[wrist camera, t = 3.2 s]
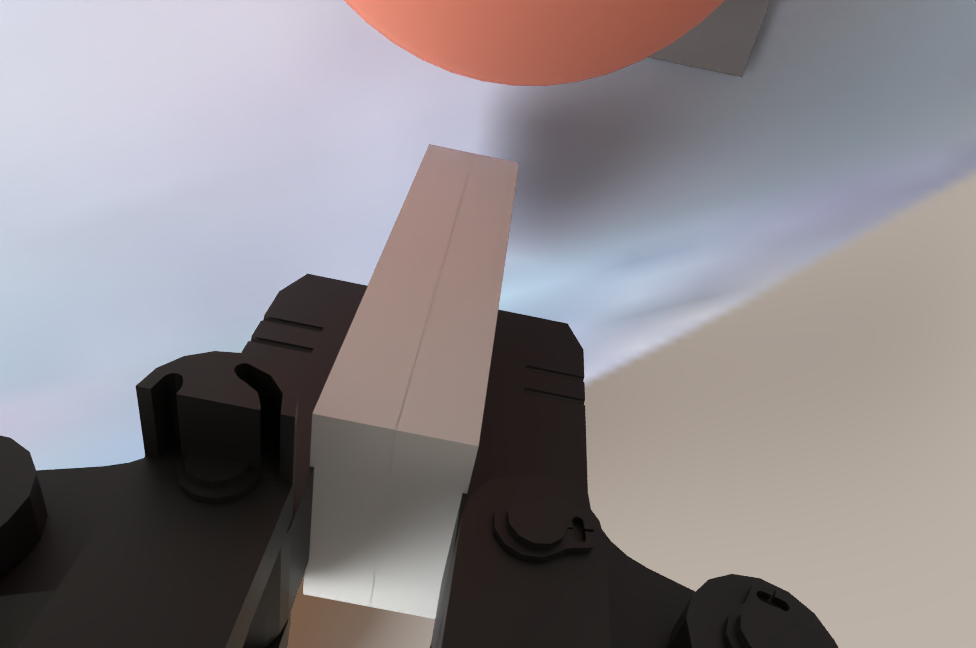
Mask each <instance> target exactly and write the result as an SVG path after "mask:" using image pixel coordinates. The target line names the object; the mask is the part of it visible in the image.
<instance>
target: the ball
mask: <svg viewBox="0 0 976 648" xmlns="http://www.w3.org/2000/svg"><path fill="white" fill-rule="evenodd" d="M344 1H345V2H346V3H347V4H348V5H349V6H350V7H351V8H352V9H353V10H354V11H355V12H356V13H358V14H359V15H360V16H361V17H362V18H363V19H364V20H365V21H366V22H367V23H368V24H369V25H371V26H372V27H373V28H375V29H376V30H377V31H379V32H380V33H381V34H383V35H384V36H385V37H386V38H388V39H389V40H390V41H392V42H393V43H394V44H396V45H398V46H400V47H401V48H403V49H405V50H406V51H408V52H410V53H411V54H413V55H415V56H417V57H418V58H420V59H422V60H424V61H426V62H429V63H431V64H433V65H436V66H438V67H440V68H443V69H445V70H447V71H450V72H452V73H456V74H459V75H463V76H466V77H470V78H473V79H477V80H481V81H486V82H493V83H500V84H507V85H520V86H547V85H555V84H563V83H571V82H578V81H582V80H586V79H590V78H593V77H597V76H601V75H605V74H609V73H611V72H614V71H616V70H619V69H621V68H624V67H626V66H629V65H631V64H634V63H636V62H639V61H641V60H643V59H645V58H646V57H648V56H650V55H652V54H654V53H655V52H657V51H659V50H661V49H663V48H664V47H666V46H668V45H670V44H672V43H673V42H674V41H676V40H677V39H679V38H680V37H681V36H683V35H684V34H685V33H687V32H688V31H690V30H691V29H692V28H694V27H695V26H697V25H698V24H699V23H701V22H702V21H703V20H704V19H705V18H706V17H707V16H708V15H710V14H711V13H712V12H713V11H714V10H715V9H716V8H717V7H718V6H719V5H721V4H722V3H723V2H724V1H725V0H344Z"/></svg>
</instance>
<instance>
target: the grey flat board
mask: <svg viewBox="0 0 976 648" xmlns="http://www.w3.org/2000/svg"><path fill="white" fill-rule="evenodd" d="M770 1H771V0H725V1H724V2H723V3H722V4H721V5H719V6H718V7H717V8H716V9H715V10H714V11H713V12H712V13H711V14H710V15H708V16H707V17H706V18H705V19H704V20H703V21H702V22H701V23H699V24H698V25H697V26H695V27H694V28H692V29H691V30H690V31H688V32H687V33H685V34H684V35H683V36H681V37H680V38H679V39H677V40H676V41H674V42H673V43H672V44H670V45H668V46H666V47H664V48H663V49H661V50H659V51H657V52H655V53H654V54H652V55H650V56H648V57H649V58H654V59H658V60H663V61H668V62H673V63H677V64H682V65H687V66H691V67H696V68H701V69H706V70H710V71H715V72H720V73H724V74H729V75H734V76H739V77H742V75H743V73H744V70H745V67H746V65H747V62H748V60H749V57H750V54H751V52H752V49H753V46H754V44H755V41H756V38H757V36H758V33H759V30H760V28H761V25H762V22H763V20H764V17H765V14H766V12H767V9H768V6H769V4H770Z"/></svg>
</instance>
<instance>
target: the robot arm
mask: <svg viewBox="0 0 976 648" xmlns="http://www.w3.org/2000/svg"><path fill="white" fill-rule="evenodd" d="M518 168H519V163H517V162H512V161H507V160H502V159H498V158H493V157H488V156H483V155H478V154H474V153H469V152H464V151H459V150H454V149H449V148H445V147H440V146H435V145H430V144H429V146H428V149H427V151H426V153H425V156H424V158H423V160H422V162H421V165H420V167H419V169H418V172H417V174H416V176H415V179H414V181H413V183H412V185H411V188H410V190H409V192H408V195H407V197H406V199H405V202H404V204H403V206H402V208H401V211H400V213H399V215H398V218H397V220H396V222H395V225H394V227H393V229H392V231H391V234H390V236H389V238H388V241H387V243H386V245H385V248H384V250H383V252H382V255H381V257H380V259H379V261H378V264H377V266H376V268H375V271H374V273H373V275H372V278H371V280H370V282H369V284H368V286H365V285H360V284H355V283H351V282H346V281H341V280H336V279H331V278H326V277H321V276H316V275H311V274H307V275H305V276H303V277H302V278H300V279H299V280H297V281H295V282H294V283H292V284H291V285H289V286H287V287H286V288H284V289H282V290H281V291H279V293H278V294H277V296H276V298H275V299H274V301H273V303H272V304H271V306H270V307H269V309H268V311H267V312H266V314H265V315H264V320H263V321H261V322H260V324H259V325H258V327H257V328H256V330H255V332H254V333H253V335H252V338H251V342H250V341H248V343H247V345H246V346H245V348H244V349H243V351H242V353H233V352H219V351H213V352H207V353H201V354H195V355H189V356H183V357H181V358H179V359H176V360H174V361H172V362H170V363H167V364H165V365H163V366H160V367H158V368H156V369H155V370H154V371H153V372H151V373H150V374H149V375H148V376H147V377H146V378H144V379H143V380H142V381H141V382H140V383H139V384H138V385H136V391H137V398H138V406H139V413H140V420H141V427H142V435H143V442H144V449H145V457H144V458H143V459H140V460H137V461H133V462H130V463H124V464H117V465H110V466H103V467H87V468H71V469H55V470H39V471H36V469H35V466H34V464H33V461H32V458H31V455H30V452H29V451H28V450H26V449H25V448H23V447H22V446H21V445H19V444H18V443H17V442H15V441H14V440H13V439H11V438H9V437H4V436H0V648H287V645H288V637H289V629H290V616H291V609H292V606H293V603H294V600H295V598H296V595H297V592H298V589H299V586H300V584H301V581H302V578H303V575H304V587H303V594H306V595H311V596H317V597H322V598H328V599H332V600H338V601H344V602H348V603H353V604H359V605H364V606H369V607H375V608H380V609H385V610H391V611H396V612H401V613H407V614H412V615H417V616H422V617H427V618H433V619H435V624H434V630H433V636H432V642H431V646H430V648H838V646H837V644H836V643H835V641H834V639H833V638H832V637H831V635H830V634H829V633H828V631H827V630H826V629H825V627H824V626H823V625H822V623H821V622H820V621H819V619H818V618H817V617H816V615H815V614H814V613H813V612H812V611H811V610H809V609H808V608H807V607H806V606H805V605H803V604H802V603H801V602H799V600H797V599H796V598H795V597H794V596H792V595H791V594H790V593H789V592H787V591H785V590H783V589H781V588H779V587H777V586H774V585H772V584H770V583H768V582H766V581H764V580H762V579H760V578H754V577H748V576H741V575H735V574H730V575H726V576H722V577H717V578H713V579H709V580H708V581H707V582H706V583H704V585H702V586H701V587H700V588H699V589H698V590H697V591H696V592H695V591H693V590H691V589H689V588H686V587H685V586H683V585H681V584H678V583H676V582H674V581H672V580H670V579H668V578H666V577H664V576H662V575H660V574H658V573H656V572H654V571H652V570H650V569H648V568H646V567H645V566H643V565H641V564H640V563H638V562H636V561H635V560H633V559H632V558H630V557H628V556H627V555H626V554H624V552H622V551H621V550H620V549H619V548H618V547H617V546H616V545H614V544H613V543H612V542H611V541H610V539H609V538H608V537H607V536H606V534H605V533H604V532H603V530H602V529H601V525H600V522H599V520H598V518H597V517H596V516H595V514H594V513H593V512H592V511H591V508H590V503H589V497H588V487H587V457H586V425H585V424H586V423H585V422H586V421H585V405H584V401H585V388H584V382H583V380H584V355H583V348H582V347H581V345H580V344H579V342H578V340H577V339H576V337H575V335H574V334H573V332H572V330H571V329H570V327H569V325H568V324H567V323H562V322H557V321H552V320H547V319H542V318H537V317H532V316H527V315H522V314H517V313H512V312H507V311H502V310H498V307H499V300H500V293H501V286H502V280H503V273H504V266H505V259H506V252H507V245H508V238H509V231H510V224H511V217H512V210H513V203H514V196H515V189H516V182H517V175H518Z"/></svg>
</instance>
